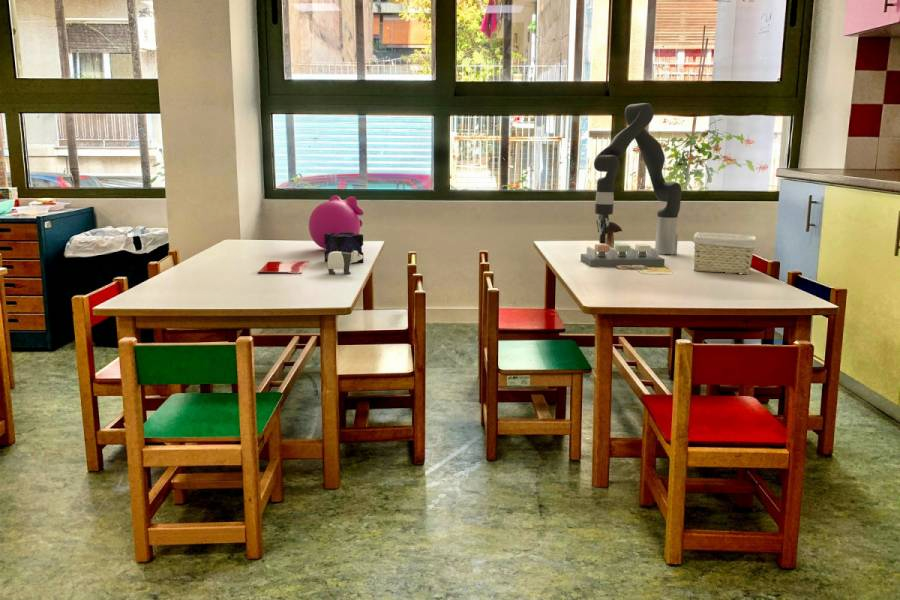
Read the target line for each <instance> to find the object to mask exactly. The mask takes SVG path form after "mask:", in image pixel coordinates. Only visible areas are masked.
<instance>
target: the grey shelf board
mask: <svg viewBox="0 0 900 600" xmlns="http://www.w3.org/2000/svg"><path fill="white" fill-rule="evenodd" d="M659 255H660V254H659V250H657V249H655V248H654V247H652V246H651V249H650V252H646V256H639V251H638V250H636V249H635V247H631V246H630V252H626V256H619V252H618V250H616V249H615V247H614V248H611V247H610V250H609V252H607V253H605V256H598V251H597V250H595V248H593V247H591V246H587V247H586V253H580V261H581V262H582V263H584V264H586V265H587V266H589V267H593V268H594V267H595V268H599V267H600V268H601V267H605V268H606V267H607V268H608V267H609V268H610V267H615V268H616V266H619V265H629V266H632V265H642V266H646V267H665V262H666V261H665V258H662V257H660V256H659Z"/></svg>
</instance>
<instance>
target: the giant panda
mask: <svg viewBox="0 0 900 600" xmlns="http://www.w3.org/2000/svg"><path fill="white" fill-rule="evenodd" d="M362 258H363V259H364V255H363V256H362V255H360V254H359V253H358V252H357V251H354V250H352V252H351V253H347V252H338V251H335V252H330V253H329V254H327V255H326V259H328V262H327V270H328V275H330V276H331V275H333V276H335V275H336V271H335V270H340V269H341V270H343V274H344V275H351V274H352V273H351V271H350V267H351V264H353V262H357V261H359V260H361V259H362Z"/></svg>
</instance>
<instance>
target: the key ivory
mask: <svg viewBox="0 0 900 600" xmlns="http://www.w3.org/2000/svg"><path fill="white" fill-rule="evenodd" d="M651 247H652V246H651V245H650V244H648V243H647V244H646V243H640V244H639V243H637V244H636V243H635V247H634V249H636V250H638V254H639V256H646V254H647V252H650V249H651Z"/></svg>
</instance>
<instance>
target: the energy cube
mask: <svg viewBox="0 0 900 600" xmlns="http://www.w3.org/2000/svg"><path fill="white" fill-rule="evenodd" d="M324 244H325V245H326V249H325V251H324V262H326V263H328V259H326V255H327V254H329V253H330V252H335V251H338V252H347V253H351V252H352V250H354V251H357V252H358V253H359V254H360V255H362V256H364V252H363V251H362V250H363V249H362V248H363V246H364V234H361V233H359V234H354V233H352V232H341V233H340V234H335V233H326V234H324ZM352 264H364V257H363V258H362V259H361V260H359V261H357V262H353V263H352Z"/></svg>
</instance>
